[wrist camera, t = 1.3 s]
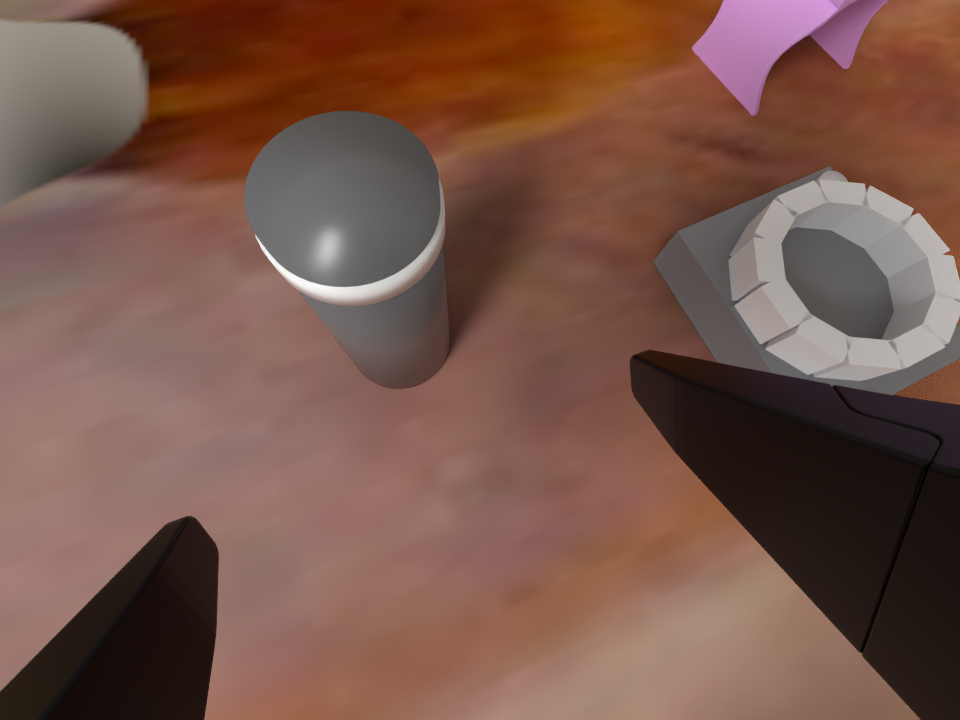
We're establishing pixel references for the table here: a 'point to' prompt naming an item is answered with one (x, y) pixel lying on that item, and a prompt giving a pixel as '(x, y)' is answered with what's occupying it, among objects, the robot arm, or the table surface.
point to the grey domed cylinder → (359, 238)
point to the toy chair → (777, 38)
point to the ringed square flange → (820, 285)
